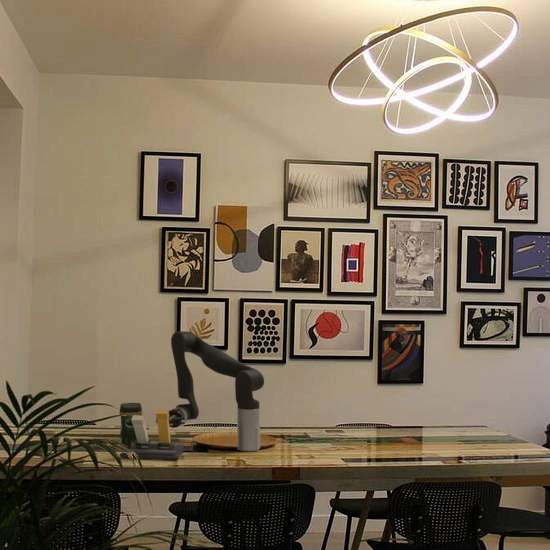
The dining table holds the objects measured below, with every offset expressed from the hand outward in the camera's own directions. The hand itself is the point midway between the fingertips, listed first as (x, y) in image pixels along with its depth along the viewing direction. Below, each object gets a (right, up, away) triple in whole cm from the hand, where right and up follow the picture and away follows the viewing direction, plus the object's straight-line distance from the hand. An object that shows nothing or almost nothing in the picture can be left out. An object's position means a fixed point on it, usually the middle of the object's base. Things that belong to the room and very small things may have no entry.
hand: (164, 423), depth 312 cm
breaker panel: (-4, -13, +2) cm, 14 cm away
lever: (-9, -9, +3) cm, 13 cm away
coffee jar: (-17, -13, +17) cm, 27 cm away
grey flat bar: (-5, -13, -7) cm, 15 cm away
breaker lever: (0, -10, +2) cm, 10 cm away
